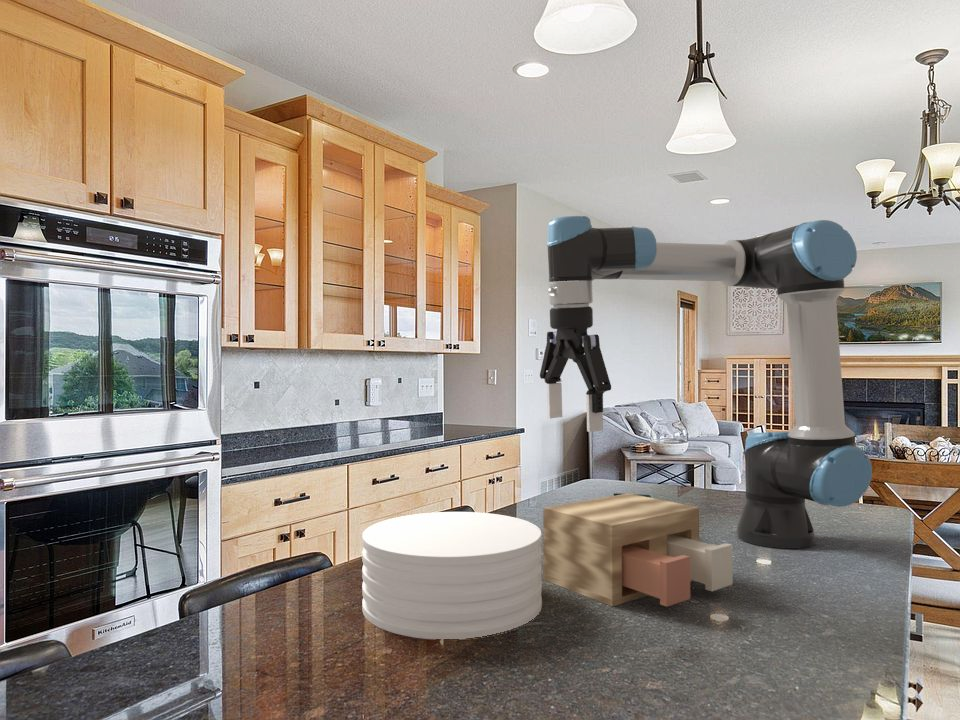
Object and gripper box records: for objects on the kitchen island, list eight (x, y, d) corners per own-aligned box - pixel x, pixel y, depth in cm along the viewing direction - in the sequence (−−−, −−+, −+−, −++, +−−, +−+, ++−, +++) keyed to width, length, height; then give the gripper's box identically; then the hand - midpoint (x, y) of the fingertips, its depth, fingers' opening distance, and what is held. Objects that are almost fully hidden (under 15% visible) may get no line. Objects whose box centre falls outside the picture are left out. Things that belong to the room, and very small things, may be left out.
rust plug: (690, 598, 101) (690, 556, 101) (666, 606, 97) (666, 563, 97) (606, 570, 114) (606, 533, 115) (583, 576, 111) (582, 538, 111)
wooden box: (699, 579, 115) (699, 507, 115) (612, 606, 102) (612, 525, 102) (628, 557, 128) (628, 493, 128) (543, 579, 115) (543, 507, 115)
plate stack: (578, 603, 104) (577, 530, 104) (446, 660, 84) (446, 569, 84) (456, 566, 124) (456, 504, 124) (326, 604, 104) (326, 531, 104)
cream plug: (732, 584, 107) (732, 544, 107) (711, 591, 104) (711, 550, 104) (648, 559, 121) (648, 524, 121) (627, 564, 118) (627, 528, 118)
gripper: (520, 306, 127) (523, 414, 129) (591, 308, 104) (594, 440, 107) (554, 304, 130) (557, 410, 132) (631, 305, 107) (633, 434, 109)
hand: (574, 424), depth 119 cm, fingers open, 13 cm apart
